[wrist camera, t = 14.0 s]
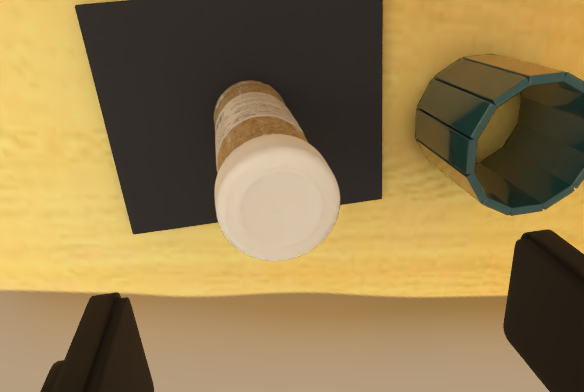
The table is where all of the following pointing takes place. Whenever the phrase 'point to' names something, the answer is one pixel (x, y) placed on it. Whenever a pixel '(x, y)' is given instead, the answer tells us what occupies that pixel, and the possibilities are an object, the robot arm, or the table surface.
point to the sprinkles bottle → (269, 177)
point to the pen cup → (522, 142)
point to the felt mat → (219, 77)
